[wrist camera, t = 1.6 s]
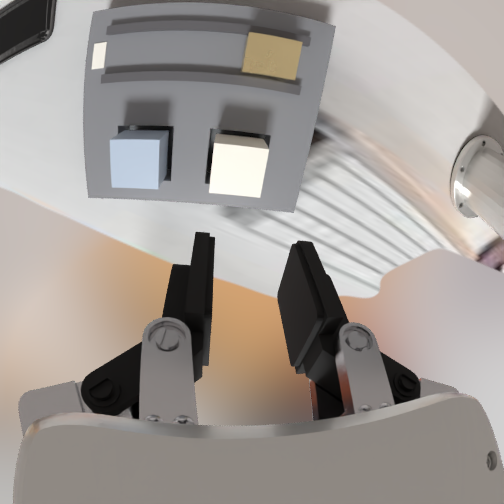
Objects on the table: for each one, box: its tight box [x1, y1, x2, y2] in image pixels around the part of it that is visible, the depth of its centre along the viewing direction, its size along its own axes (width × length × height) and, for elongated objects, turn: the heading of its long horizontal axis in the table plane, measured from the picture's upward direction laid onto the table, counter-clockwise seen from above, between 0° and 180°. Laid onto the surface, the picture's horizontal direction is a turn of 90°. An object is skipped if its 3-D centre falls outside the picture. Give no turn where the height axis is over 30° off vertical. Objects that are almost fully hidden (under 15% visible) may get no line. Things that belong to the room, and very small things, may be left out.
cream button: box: [209, 133, 269, 198], centre depth 21 cm, size 4×4×4 cm
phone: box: [0, 0, 56, 64], centre depth 11 cm, size 8×1×15 cm
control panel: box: [83, 2, 336, 213], centre depth 20 cm, size 20×18×4 cm
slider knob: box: [241, 32, 302, 80], centre depth 16 cm, size 4×3×3 cm
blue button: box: [110, 130, 169, 189], centre depth 20 cm, size 4×4×4 cm
